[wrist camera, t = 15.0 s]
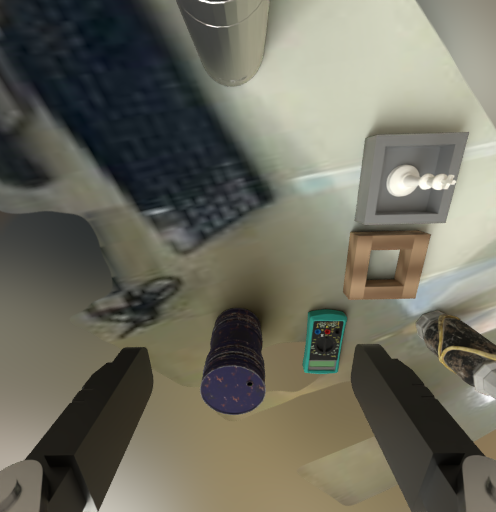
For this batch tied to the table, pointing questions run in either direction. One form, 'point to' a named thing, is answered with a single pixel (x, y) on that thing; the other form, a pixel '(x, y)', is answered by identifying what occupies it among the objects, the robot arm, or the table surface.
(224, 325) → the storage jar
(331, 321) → the digital multimeter
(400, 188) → the chess piece
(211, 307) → the table surface
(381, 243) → the socket stand
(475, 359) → the lantern
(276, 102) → the table surface
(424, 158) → the parts tray
